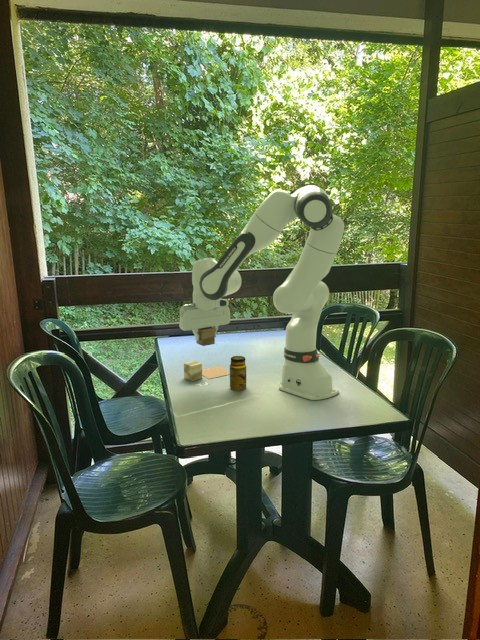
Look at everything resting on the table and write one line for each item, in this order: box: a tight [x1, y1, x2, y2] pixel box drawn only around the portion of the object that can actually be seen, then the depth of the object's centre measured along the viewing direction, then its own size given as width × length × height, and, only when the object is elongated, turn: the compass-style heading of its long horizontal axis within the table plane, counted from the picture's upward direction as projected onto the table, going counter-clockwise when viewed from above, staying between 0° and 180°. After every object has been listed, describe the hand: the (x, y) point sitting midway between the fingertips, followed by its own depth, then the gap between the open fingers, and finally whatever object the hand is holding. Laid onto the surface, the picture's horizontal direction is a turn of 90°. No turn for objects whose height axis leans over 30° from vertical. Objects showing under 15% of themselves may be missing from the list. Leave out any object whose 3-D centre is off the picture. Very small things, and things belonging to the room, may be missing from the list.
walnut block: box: [195, 327, 216, 347], centre depth 162 cm, size 5×5×6 cm
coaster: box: [202, 365, 230, 380], centre depth 175 cm, size 11×11×1 cm
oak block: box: [183, 360, 203, 382], centre depth 168 cm, size 5×5×6 cm
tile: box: [195, 382, 209, 387], centre depth 162 cm, size 7×7×1 cm
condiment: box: [229, 355, 247, 392], centre depth 157 cm, size 7×8×12 cm
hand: (205, 338), depth 162 cm, fingers closed on walnut block, 5 cm apart
